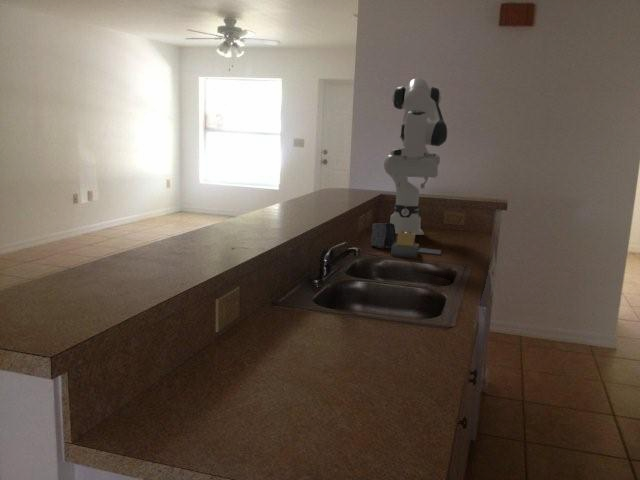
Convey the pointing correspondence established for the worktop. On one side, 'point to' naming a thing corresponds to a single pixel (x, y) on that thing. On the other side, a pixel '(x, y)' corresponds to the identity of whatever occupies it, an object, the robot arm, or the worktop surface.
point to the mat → (429, 251)
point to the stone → (383, 235)
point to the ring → (405, 238)
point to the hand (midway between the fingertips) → (410, 187)
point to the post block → (404, 250)
